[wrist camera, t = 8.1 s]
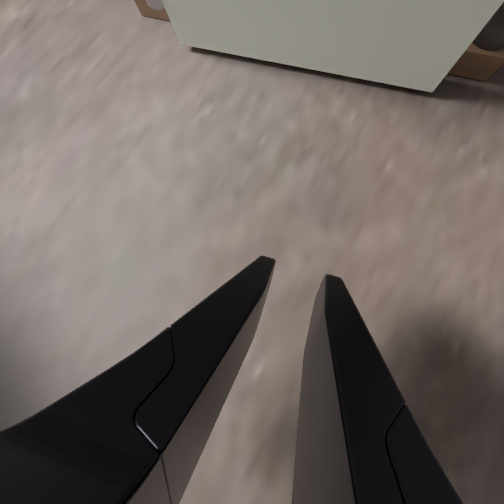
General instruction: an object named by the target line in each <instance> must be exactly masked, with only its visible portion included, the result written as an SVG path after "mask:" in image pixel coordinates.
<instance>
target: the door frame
mask: <svg viewBox="0 0 504 504" xmlns="http://www.w3.org/2000/svg"><path fill="white" fill-rule="evenodd" d="M134 1H135V3H136V5H137V7H138V9H139V10H140V12H141V14H142V16H148V17H153V18H158V19H163V20H169V21H170V19H169V17H168V14H167V12H166V10H165V8H164V9H161V10H155V9H152V8H150V7H149V6H148V4H147V2H146V0H134ZM503 64H504V2H503V3H502V5H501V6H500V7H499V8H498V10H497V11H496V12H495V14H494V15H493V16H492V17H491V19H490V20H489V21H488V22H487V24H486V25H485V26H484V28H483V29H482V30H481V31H480V33H479V34H478V35H477V36H476V38H475V39H474V40H473V42H472V43H471V44H470V45H469V47H468V48H467V49H466V50H465V52H464V53H463V54H462V55H461V57H460V58H459V59H458V61H457V62H456V63H455V64H454V66H453V67H452V68H451V69H450V71H449V72H448V73H447V74H451V75H457V76H462V77H467V78H472V79H478V80H483V81H487V80H488V79H489V78H490V77H491V76H492V75H493V74H494V73H495V72H496V71H497V70H498V69H499V68H500V67H501V66H502V65H503Z"/></svg>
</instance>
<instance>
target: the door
mask: <svg viewBox="0 0 504 504" xmlns="http://www.w3.org/2000/svg"><path fill="white" fill-rule="evenodd" d="M146 2H147V4H148V6H149V7H150V8H152V9H155V10H161V9H164V8H165V10H166V12H167V14H168V17H169V19H170V21H171V24H172V26H173V28H174V31H175V33H176V36H177V38H178V40H179V43H180V44H181V45H186V46H192V47H197V48H202V49H207V50H212V51H218V52H223V53H228V54H233V55H239V56H244V57H249V58H254V59H259V60H265V61H270V62H275V63H280V64H286V65H291V66H296V67H301V68H306V69H312V70H317V71H322V72H327V73H333V74H338V75H343V76H348V77H353V78H359V79H364V80H369V81H374V82H380V83H385V84H390V85H395V86H401V87H406V88H411V89H416V90H421V91H427V92H433V91H434V90H435V89H436V87H437V86H438V85H439V83H440V82H441V81H442V80H443V78H444V77H445V76H446V75H447V73H448V72H449V71H450V69H451V68H452V67H453V66H454V64H455V63H456V62H457V61H458V59H459V58H460V57H461V55H462V54H463V53H464V52H465V50H466V49H467V48H468V47H469V45H470V44H471V43H472V42H473V40H474V39H475V38H476V36H477V35H478V34H479V33H480V31H481V30H482V29H483V28H484V26H485V25H486V24H487V22H488V21H489V20H490V19H491V17H492V16H493V15H494V14H495V12H496V11H497V10H498V8H499V7H500V6H501V5H502V3H503V2H504V0H146Z"/></svg>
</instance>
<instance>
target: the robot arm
mask: <svg viewBox="0 0 504 504" xmlns="http://www.w3.org/2000/svg"><path fill="white" fill-rule="evenodd" d="M275 263H276V261H275V259H273V258H270V257H266V256H260V257H259V258H257V259H256V260H255V261H253V262H252V263H251V264H250V265H248V266H247V267H246V268H244V269H243V270H242V271H240V272H239V273H238V274H237V275H235V276H234V277H233V278H231V279H230V280H229V281H228V282H226V283H225V284H224V285H222V286H221V287H220V288H218V289H217V290H216V291H215V292H213V293H212V294H211V295H209V296H208V297H207V298H205V299H204V300H203V301H202V302H200V303H199V304H198V305H196V306H195V307H194V308H192V309H191V310H190V311H189V312H187V313H186V314H185V315H183V316H182V317H181V318H179V319H178V320H177V321H176V322H174V323H173V324H172V325H171V326H170V327H171V328H170V327H168V328H166V329H165V330H164V331H162V332H161V333H160V334H159V335H157V336H156V337H155V338H153V339H152V340H151V341H149V342H148V343H146V344H145V345H144V346H142V347H141V348H140V349H138V350H137V351H135V352H134V353H132V354H131V355H129V356H128V357H126V358H125V359H123V360H122V361H120V362H119V363H117V364H115V365H114V366H112V367H111V368H109V369H108V370H106V371H104V372H103V373H101V374H100V375H98V376H96V377H95V378H93V379H91V380H90V381H88V382H87V383H85V384H83V385H82V386H80V387H79V388H77V389H75V390H74V391H72V392H70V393H69V394H67V395H66V396H64V397H62V398H61V399H59V400H58V401H56V402H54V403H53V404H51V405H49V406H48V407H46V408H45V409H43V410H41V411H40V412H38V413H36V414H34V415H33V416H31V417H29V418H27V419H25V420H23V421H21V422H19V423H17V424H15V425H13V426H11V427H9V428H6V429H4V430H2V431H0V504H179V502H180V500H181V498H182V496H183V494H184V491H185V489H186V487H187V485H188V482H189V480H190V478H191V476H192V474H193V471H194V469H195V467H196V465H197V462H198V460H199V458H200V456H201V454H202V451H203V449H204V447H205V445H206V443H207V440H208V438H209V436H210V434H211V431H212V429H213V427H214V425H215V423H216V420H217V418H218V416H219V414H220V411H221V409H222V407H223V405H224V403H225V400H226V398H227V396H228V394H229V392H230V389H231V387H232V385H233V383H234V380H235V378H236V376H237V374H238V372H239V369H240V367H241V365H242V363H243V360H244V358H245V356H246V354H247V352H248V349H249V347H250V345H251V343H252V340H253V338H254V335H255V332H256V329H257V326H258V323H259V320H260V316H261V313H262V310H263V306H264V303H265V300H266V297H267V293H268V290H269V287H270V283H271V279H272V275H273V271H274V267H275ZM292 504H463V502H462V501H461V499H460V498H459V496H458V494H457V493H456V491H455V489H454V488H453V486H452V484H451V483H450V481H449V479H448V478H447V476H446V474H445V473H444V471H443V469H442V468H441V466H440V464H439V463H438V461H437V459H436V458H435V456H434V454H433V452H432V451H431V449H430V447H429V445H428V443H427V441H426V440H425V438H424V436H423V434H422V432H421V430H420V428H419V427H418V425H417V423H416V421H415V419H414V417H413V415H412V413H411V411H410V409H409V407H408V406H407V405H405V400H404V398H403V396H402V394H401V392H400V390H399V388H398V386H397V385H396V383H395V381H394V379H393V377H392V375H391V373H390V371H389V369H388V367H387V365H386V363H385V361H384V359H383V357H382V355H381V354H380V352H379V350H378V348H377V346H376V344H375V342H374V340H373V338H372V336H371V334H370V332H369V330H368V328H367V326H366V325H365V323H364V321H363V319H362V317H361V315H360V313H359V311H358V309H357V307H356V305H355V303H354V301H353V299H352V297H351V295H350V294H349V292H348V290H347V288H346V286H345V284H344V282H343V280H342V279H341V278H340V277H337V276H333V275H330V274H326V275H325V276H324V278H323V281H322V283H321V285H320V288H319V290H318V293H317V295H316V298H315V302H314V307H313V312H312V316H311V321H310V326H309V331H308V335H307V340H306V345H305V351H304V358H303V370H302V382H301V394H300V407H299V419H298V431H297V444H296V456H295V469H294V481H293V493H292Z"/></svg>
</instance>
